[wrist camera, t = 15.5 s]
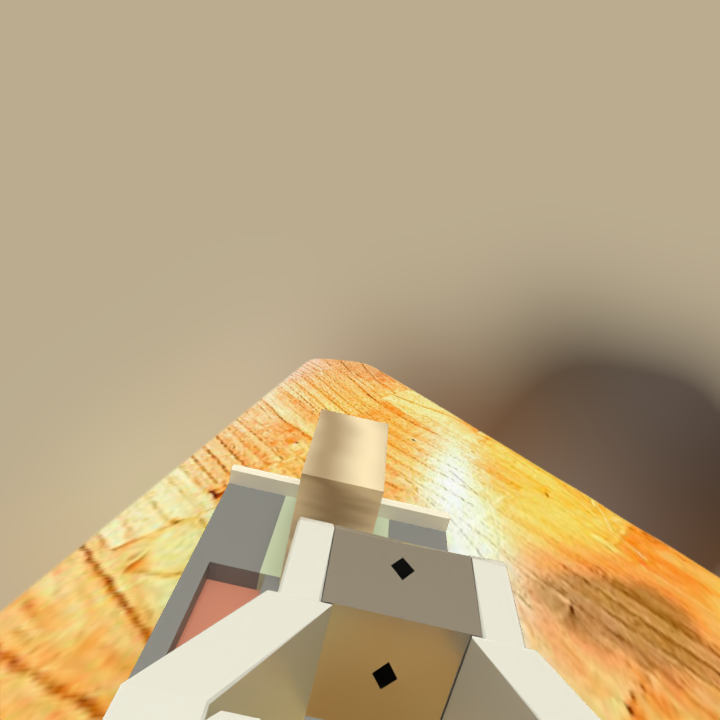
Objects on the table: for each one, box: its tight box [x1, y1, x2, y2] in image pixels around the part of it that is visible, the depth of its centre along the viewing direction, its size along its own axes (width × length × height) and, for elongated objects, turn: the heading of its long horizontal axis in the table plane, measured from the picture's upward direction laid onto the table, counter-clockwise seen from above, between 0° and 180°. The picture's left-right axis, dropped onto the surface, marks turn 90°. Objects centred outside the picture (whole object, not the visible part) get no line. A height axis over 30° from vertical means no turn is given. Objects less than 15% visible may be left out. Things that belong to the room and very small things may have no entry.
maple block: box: [279, 409, 388, 584], centre depth 52 cm, size 6×11×10 cm, turn 176°
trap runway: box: [129, 464, 450, 720], centre depth 43 cm, size 21×36×4 cm, turn 176°
